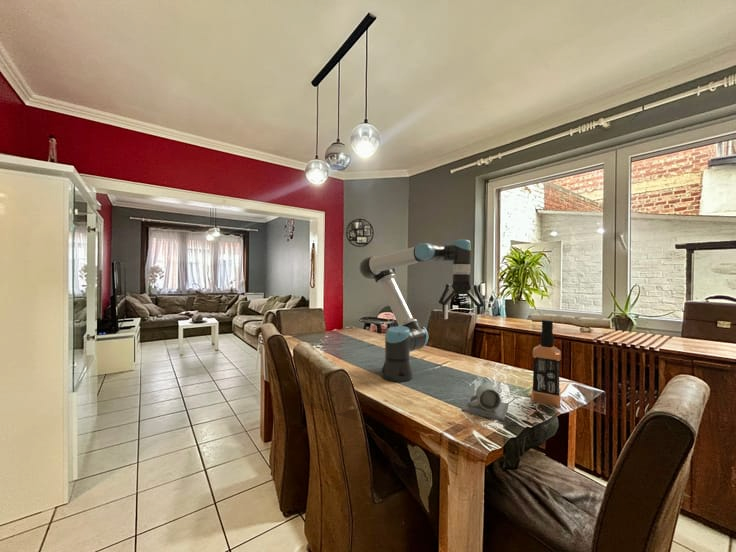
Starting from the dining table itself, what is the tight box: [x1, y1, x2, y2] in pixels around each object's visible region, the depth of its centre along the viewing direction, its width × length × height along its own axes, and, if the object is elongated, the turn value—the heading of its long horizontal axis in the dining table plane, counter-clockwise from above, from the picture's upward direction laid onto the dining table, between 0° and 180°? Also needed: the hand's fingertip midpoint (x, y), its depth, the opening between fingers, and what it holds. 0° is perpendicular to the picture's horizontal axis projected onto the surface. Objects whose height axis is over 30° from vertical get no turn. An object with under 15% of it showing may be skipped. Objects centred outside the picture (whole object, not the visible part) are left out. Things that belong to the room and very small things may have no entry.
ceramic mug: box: [467, 383, 502, 411], centre depth 114 cm, size 11×8×8 cm
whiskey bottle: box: [530, 319, 562, 408], centre depth 122 cm, size 10×10×32 cm
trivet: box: [461, 395, 510, 422], centre depth 114 cm, size 14×14×1 cm
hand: (460, 320), depth 139 cm, fingers open, 13 cm apart
